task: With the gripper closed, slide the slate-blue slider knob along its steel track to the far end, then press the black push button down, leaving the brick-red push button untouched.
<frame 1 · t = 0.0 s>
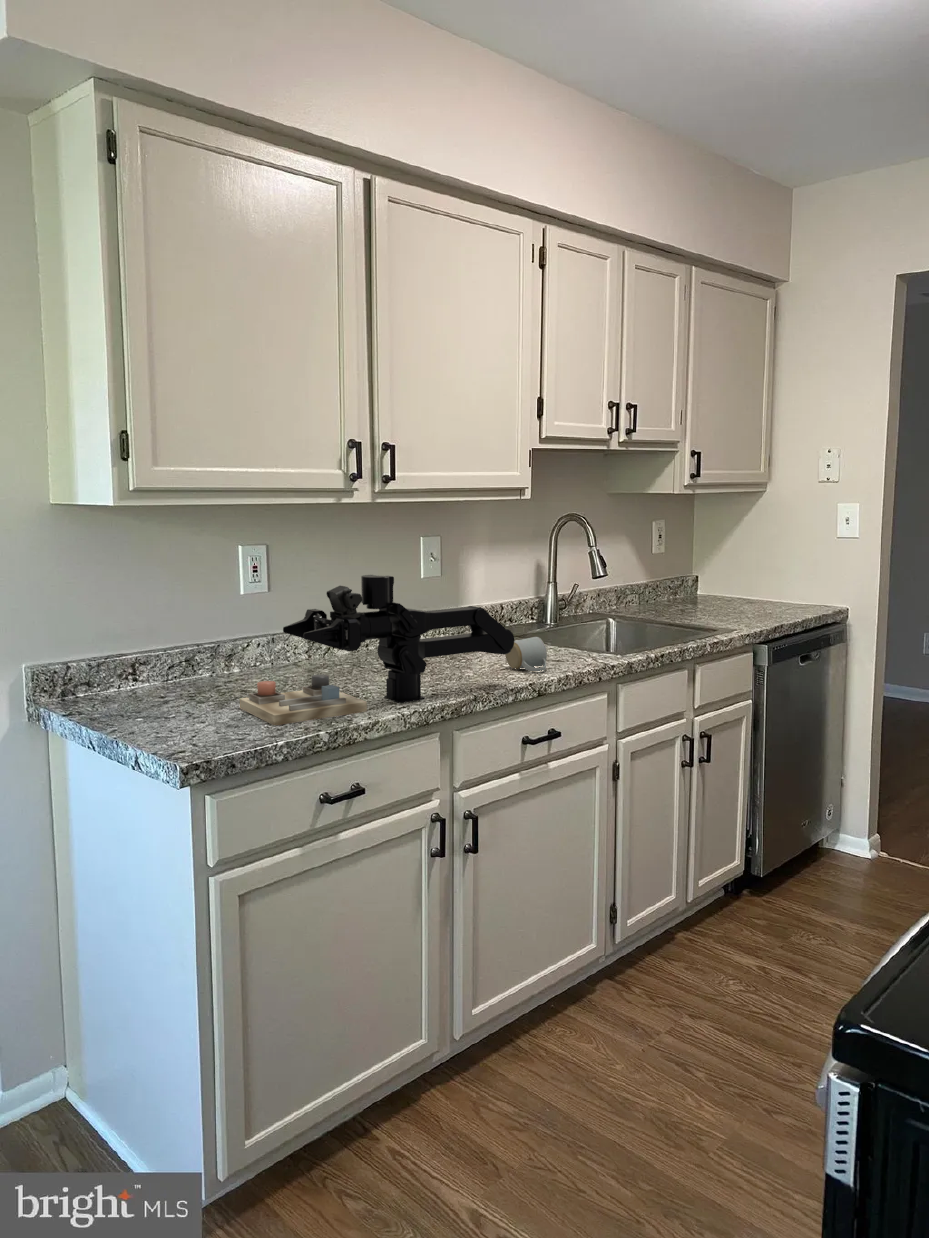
hand: (293, 632, 188), 17 cm above the worktop, tool horizontal, fingers open, 9 cm apart
ceramic mug: (529, 670, 239), on the worktop
slider knob: (330, 693, 193), point 4 cm above the worktop, slide at 0.0 cm
black button: (320, 681, 201), point 5 cm above the worktop, slide at 0.0 cm
control panel: (302, 709, 195), on the worktop
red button: (266, 688, 195), point 5 cm above the worktop, slide at 0.0 cm
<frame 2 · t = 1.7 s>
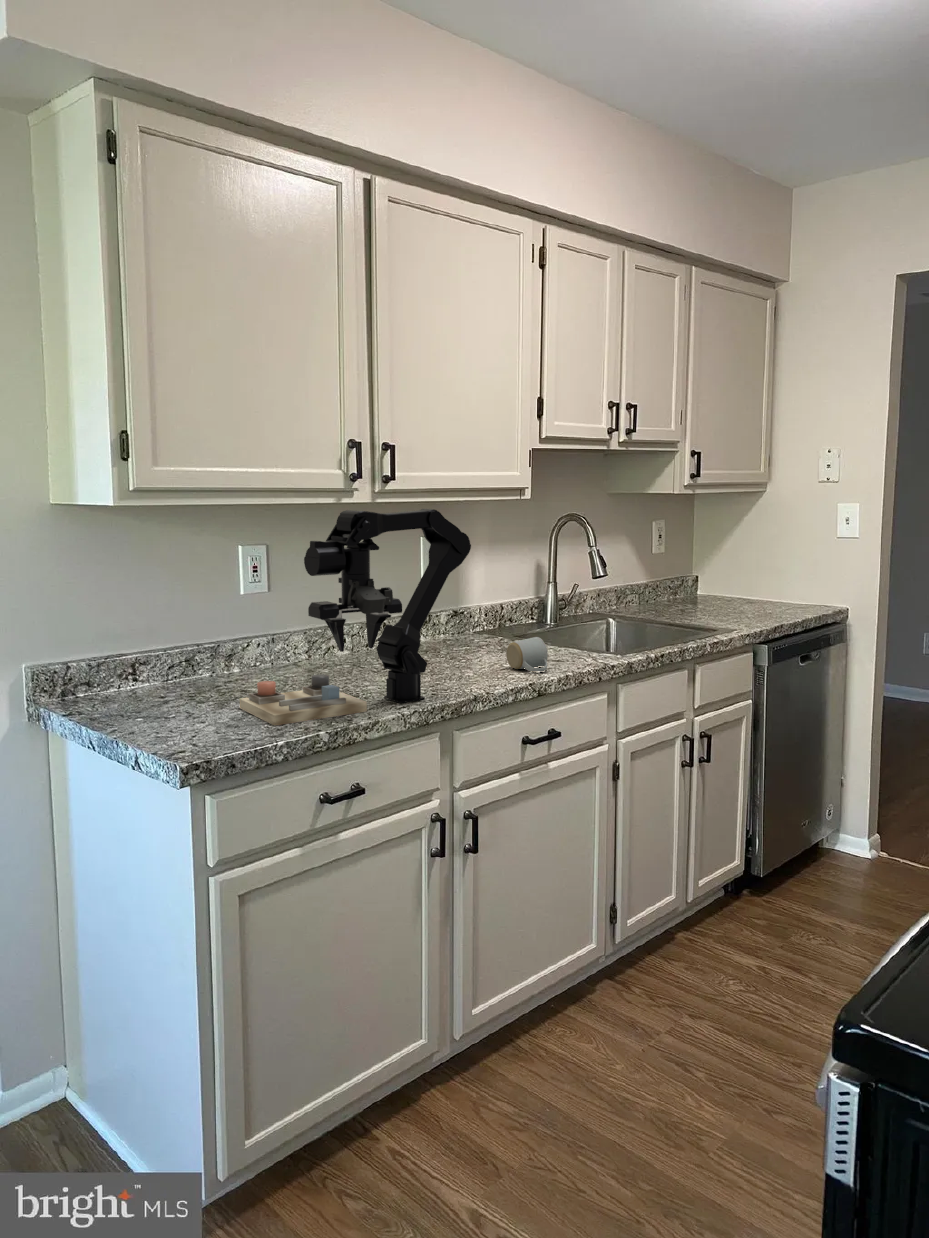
hand: (356, 649, 196), 12 cm above the worktop, tool pointing down, fingers open, 6 cm apart
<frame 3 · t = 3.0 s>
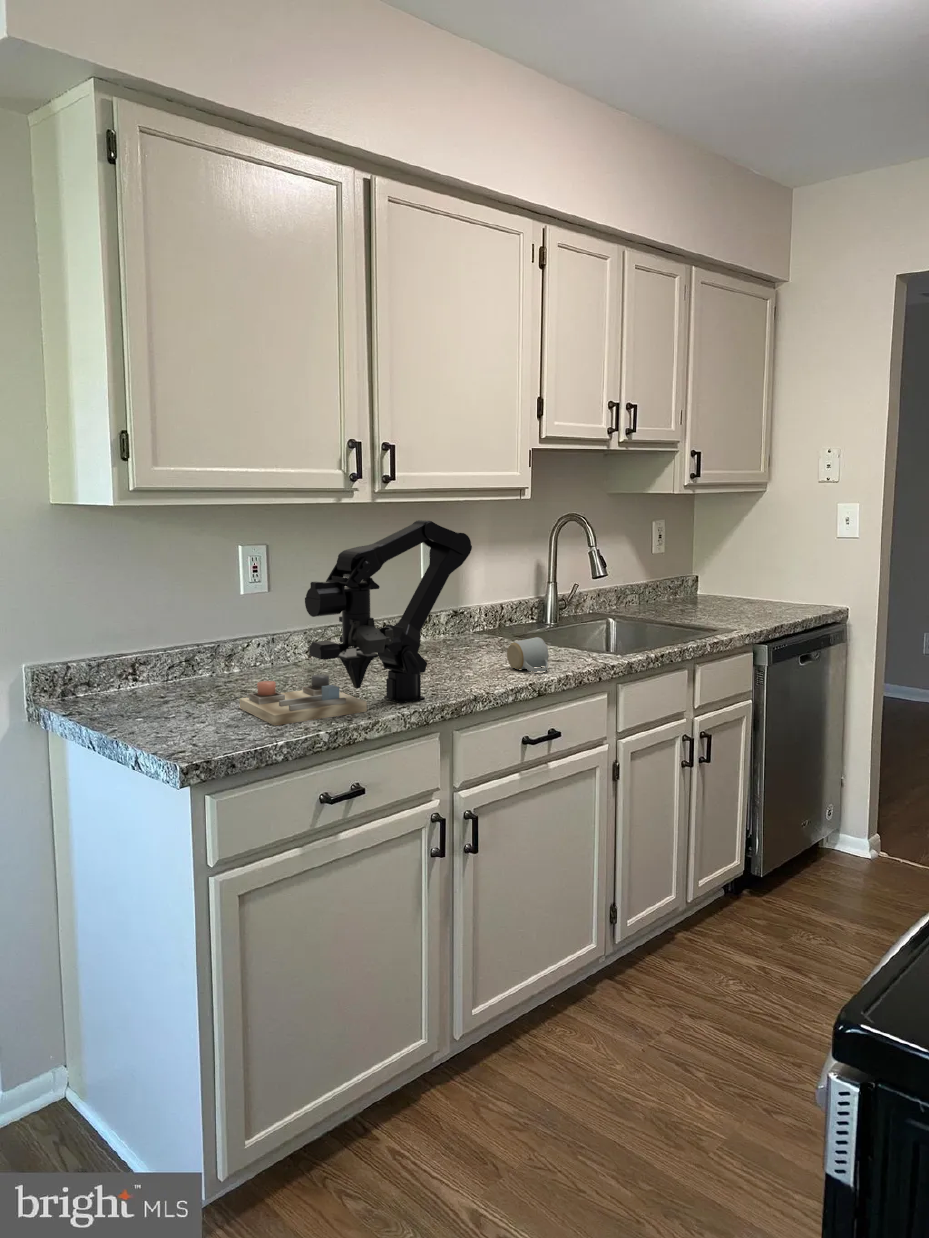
hand: (357, 688, 197), 4 cm above the worktop, tool pointing down, fingers closed
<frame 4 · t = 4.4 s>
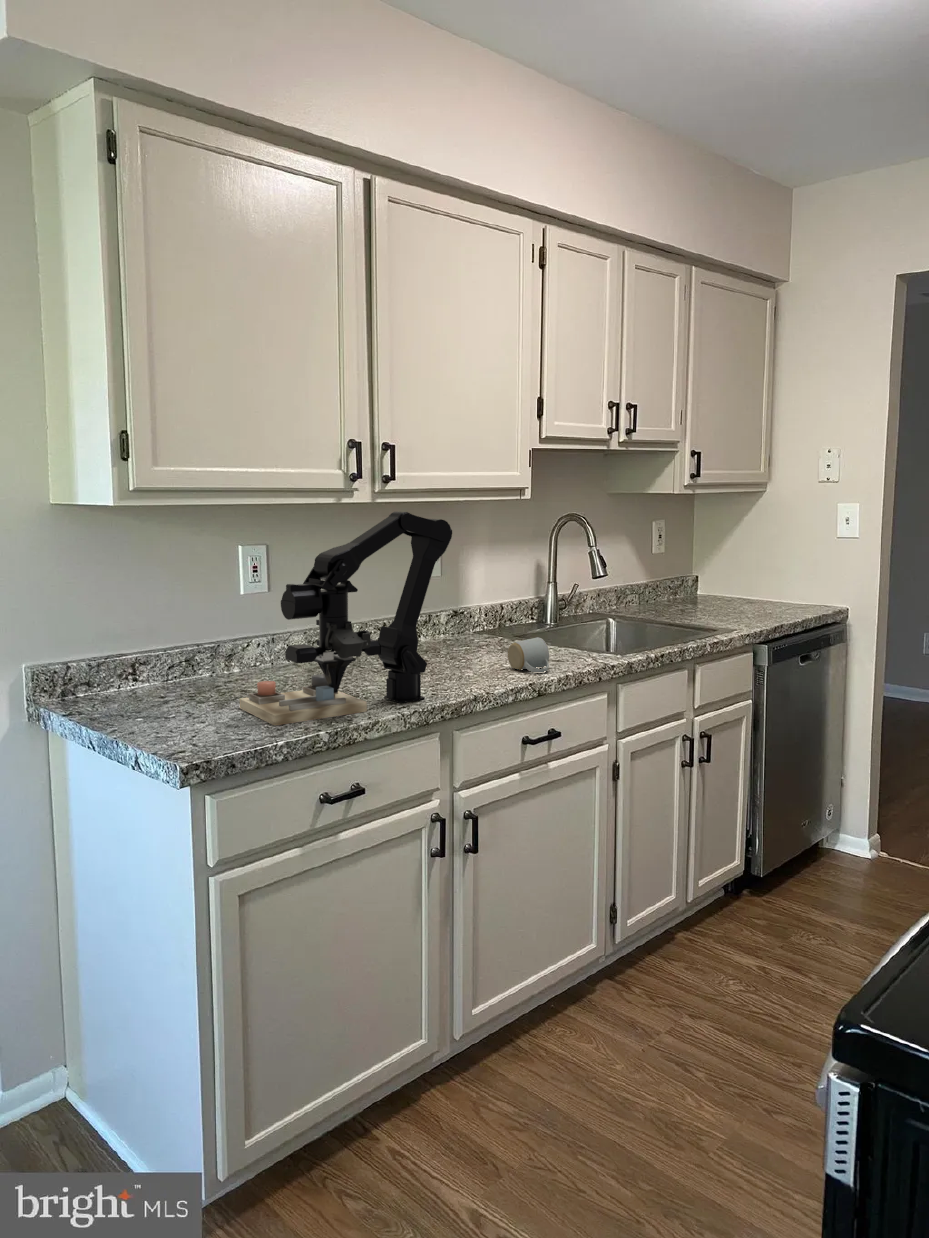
hand: (334, 692, 194), 4 cm above the worktop, tool pointing down, fingers closed
slider knob: (324, 694, 193), point 4 cm above the worktop, slide at 1.3 cm, touching gripper
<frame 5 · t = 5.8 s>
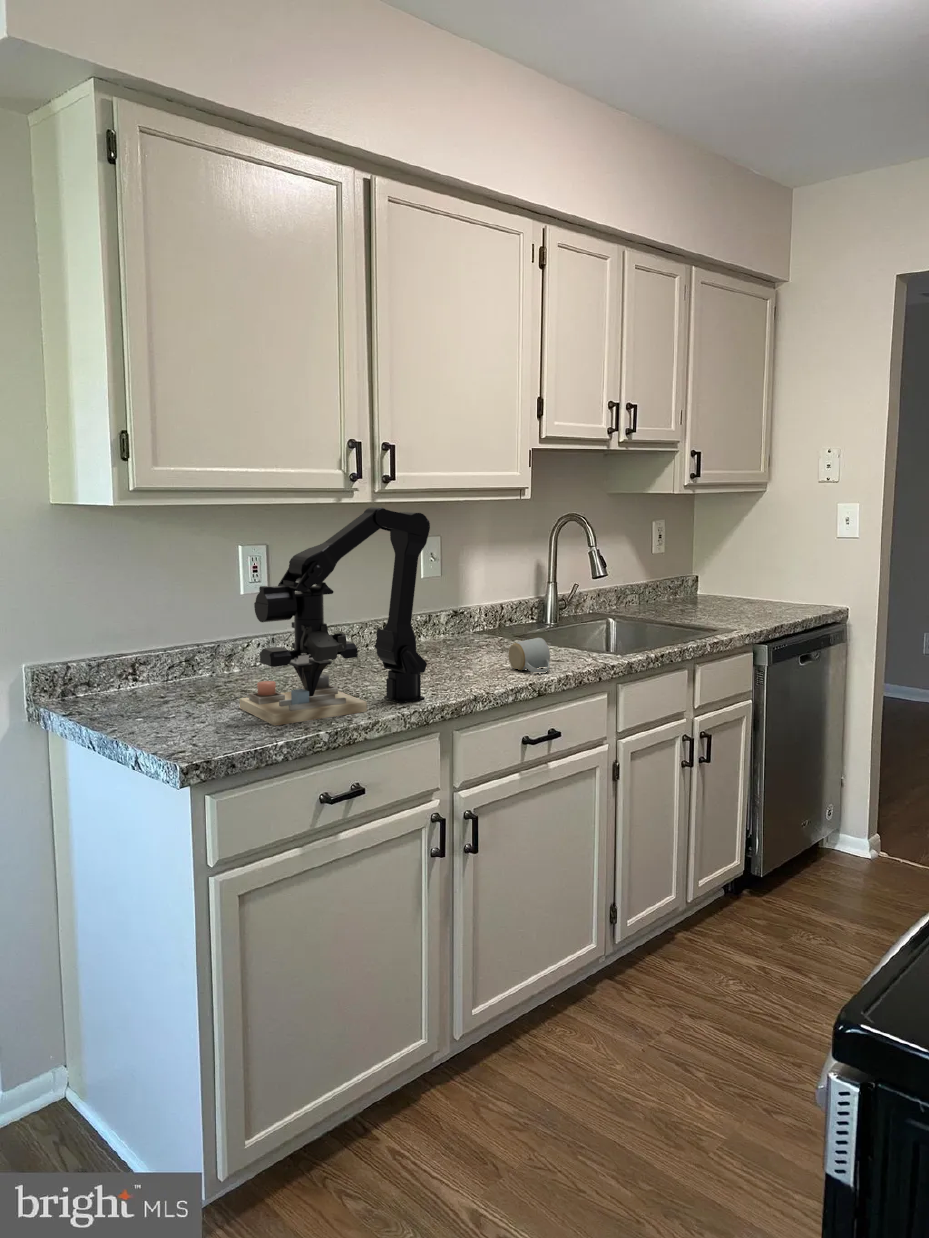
hand: (310, 696, 191), 4 cm above the worktop, tool pointing down, fingers closed
slider knob: (300, 697, 190), point 4 cm above the worktop, slide at 6.7 cm, touching gripper
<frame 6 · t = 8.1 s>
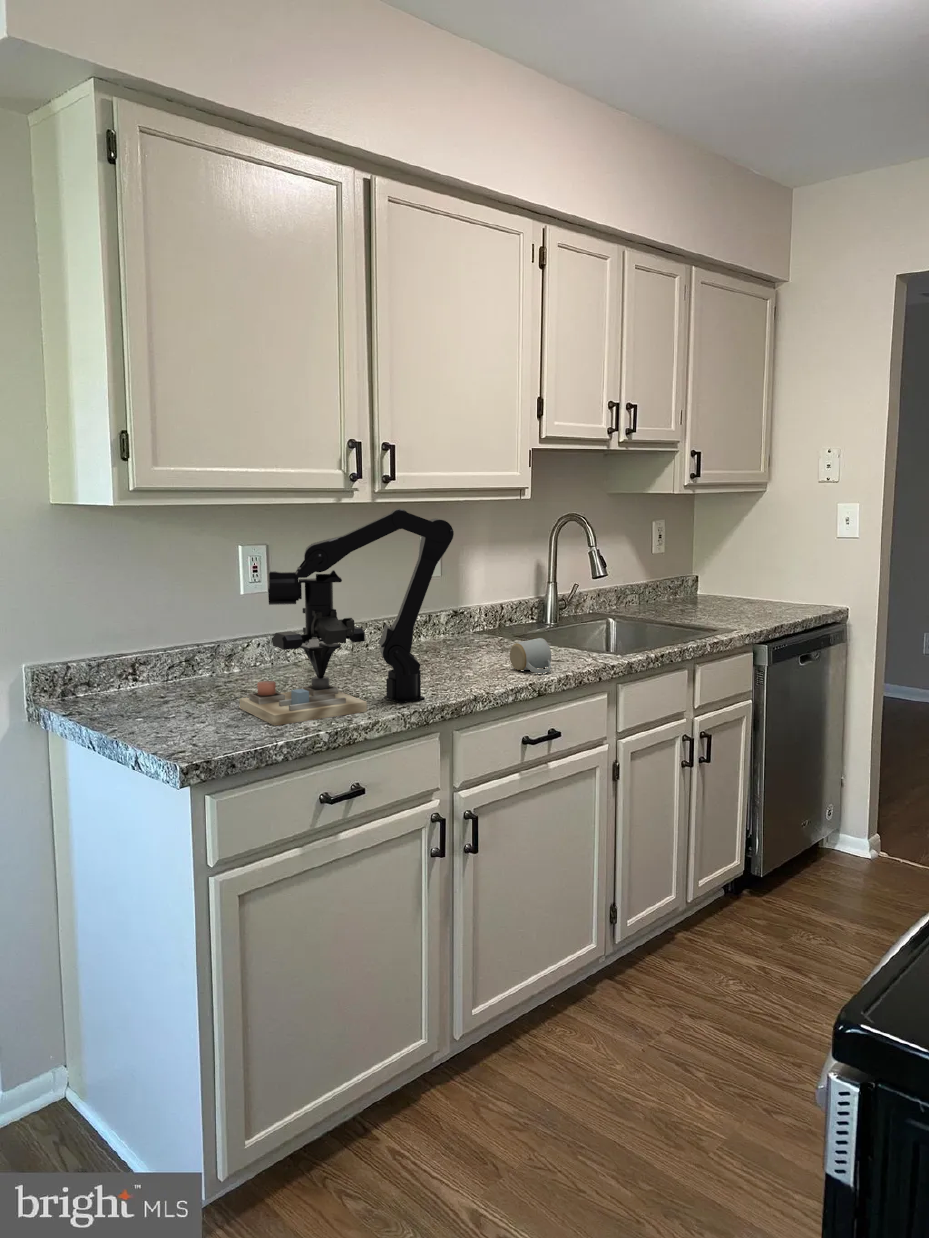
hand: (320, 678, 201), 5 cm above the worktop, tool pointing down, fingers closed, pressing on black button
slider knob: (300, 697, 190), point 4 cm above the worktop, slide at 6.7 cm
black button: (320, 683, 201), point 4 cm above the worktop, slide at 0.4 cm, touching gripper
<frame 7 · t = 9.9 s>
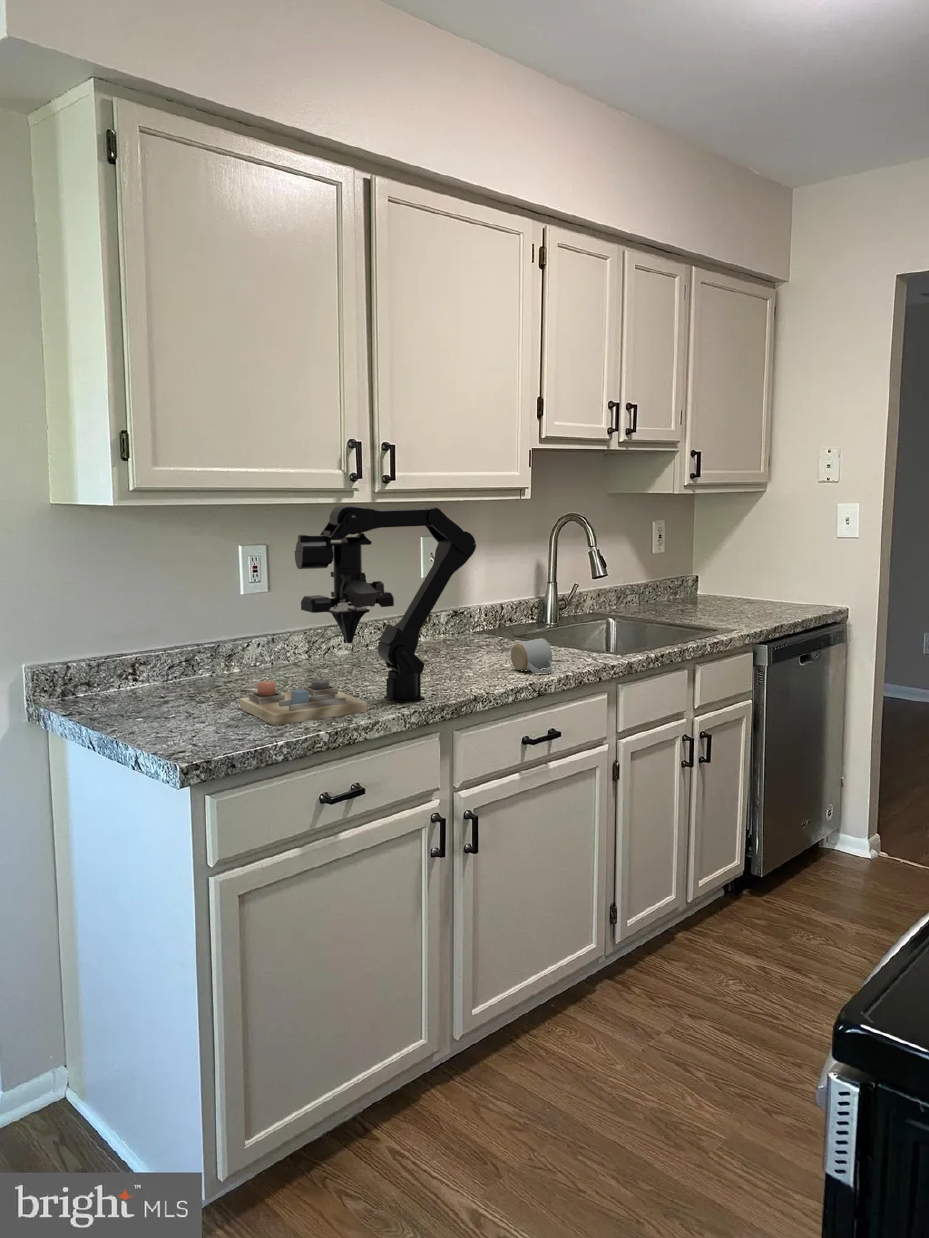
hand: (348, 643, 198), 13 cm above the worktop, tool pointing down, fingers closed
black button: (320, 686, 202), point 3 cm above the worktop, slide at 1.2 cm
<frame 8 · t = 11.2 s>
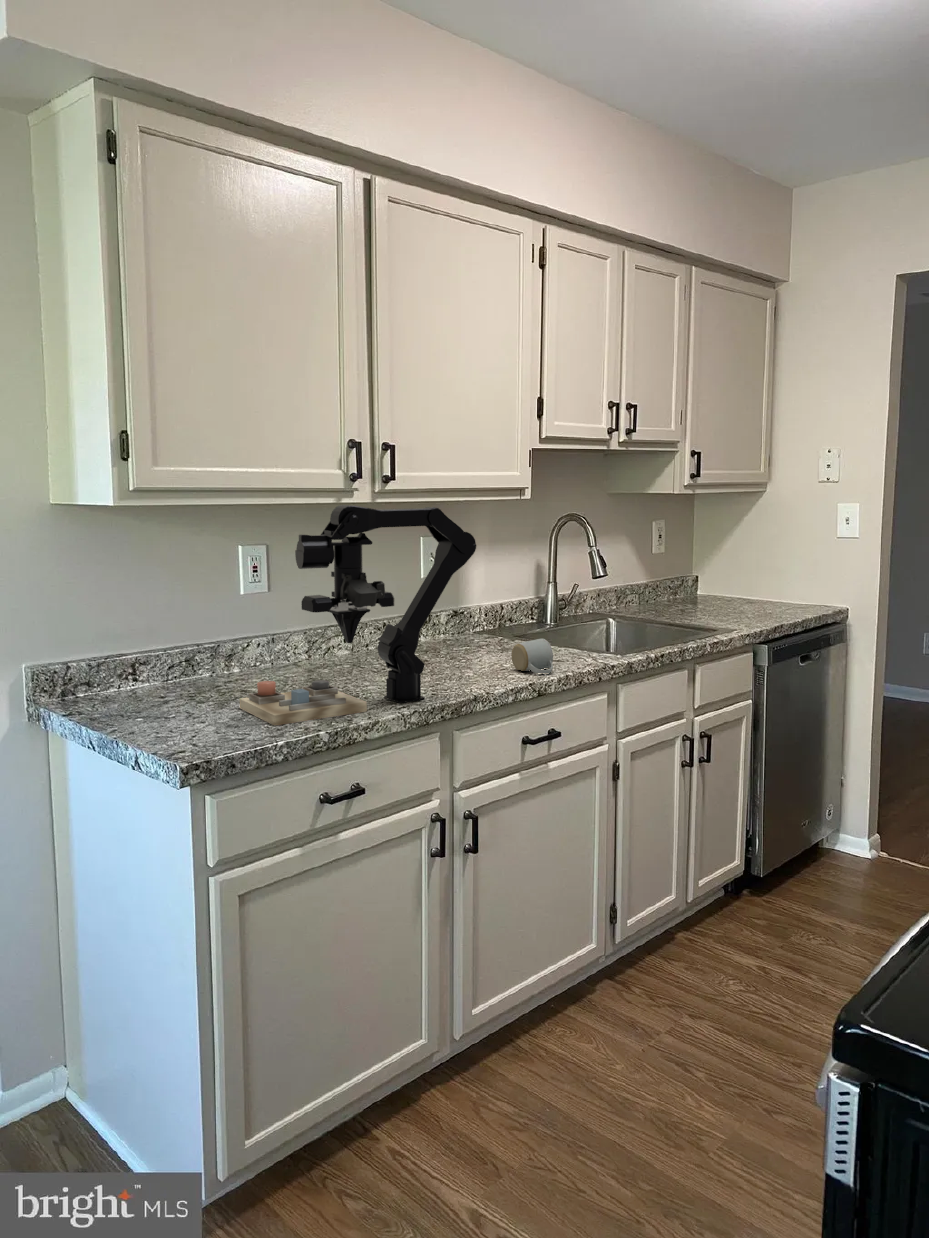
hand: (349, 643, 198), 13 cm above the worktop, tool pointing down, fingers closed
at the end: slider knob slide at 6.7 cm; black button slide at 1.2 cm; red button slide at 0.0 cm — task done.
